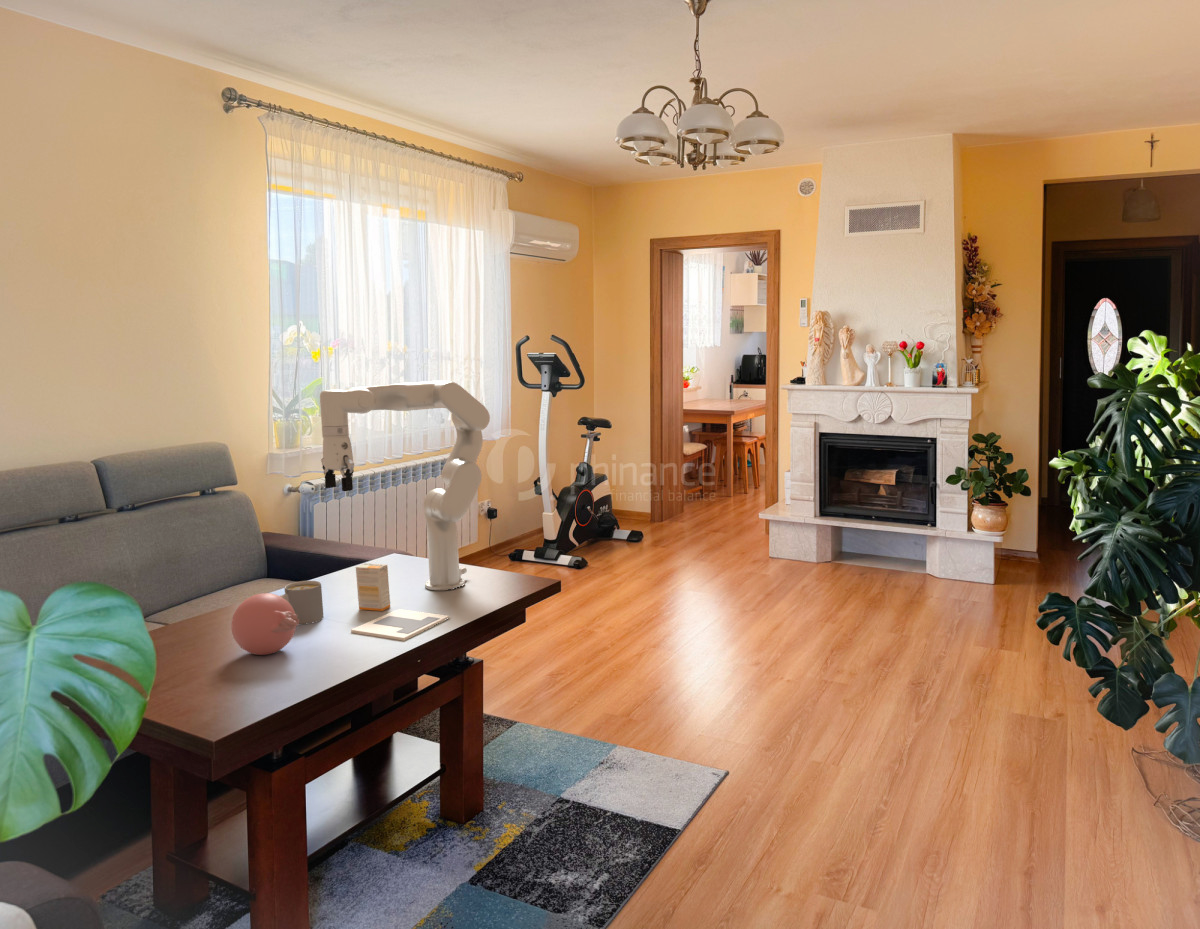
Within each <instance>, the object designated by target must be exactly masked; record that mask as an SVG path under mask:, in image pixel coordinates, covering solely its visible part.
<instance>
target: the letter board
mask: <svg viewBox="0 0 1200 929" xmlns="http://www.w3.org/2000/svg"><path fill="white" fill-rule="evenodd" d="M447 618H449V619H450V615H446V614H437V613H432V612H431V613H430V612H422V611H418V610H417V611H416V610H408V609H402V608H398V609H397V608H396V610H393V611H391V612H389V613H387V614H384V615H382V616H379V617H377V618H374V619H372V620H370V621H368V622H365V623H363V624H361V625H358V626H356V627H354V628H352V629H350V633H351V634H359V635H366V636H371V637H376V638H377V637H378V638H384V639H390V640H396V641H404V642H405V641H407V640H409V639H411V638H412V637H415V636H416V635H419V634H421V633H423V632H424V630H425V631H427V630H429V629H431V628H433V627H435V626H437V625H439V624H441V623H443V622H442V621H444V620H445V619H447ZM440 622H441V623H440ZM444 622H445V621H444ZM438 623H439V624H438ZM436 624H437V625H436ZM434 625H435V626H434ZM430 627H431V628H430ZM428 628H429V629H428Z"/></svg>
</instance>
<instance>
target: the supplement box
mask: <svg viewBox="0 0 1200 929" xmlns="http://www.w3.org/2000/svg"><path fill="white" fill-rule="evenodd" d="M388 568H389V566H388V564H385V563H384V564H379V563H362V564H360V565H358V566H357V565H356V567H355V573H356V574H355V575H356V587H357V588H356V589H357V599H358V600H357V601H358V610H359V609H360V611H361V609H362V610H364V611H375V612H383V611H386V610H387V609H389V608H391V597H390V595H391V594H390V584H389V583H390V582H389V570H388Z"/></svg>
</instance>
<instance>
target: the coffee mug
mask: <svg viewBox="0 0 1200 929" xmlns="http://www.w3.org/2000/svg"><path fill="white" fill-rule="evenodd" d="M279 596H280V597H282V598H284V599H285V600H286V601H288V602H289V603H290V605H291V606H292V608H293V609H294V612H295V614H296V615H297V619H299V624H302V625H307V624H306V623H310V624H313V623H312V622H314V623H316V621H317V622H319V620H320V621H321V619H322V618H323V619H324V605H323V589H322V582H320V581H317V580H301V581H295V582H291V583H288V584H286V585H285V586H284V594H281V595H279ZM323 619H322V620H323Z"/></svg>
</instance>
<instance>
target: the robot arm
mask: <svg viewBox="0 0 1200 929" xmlns="http://www.w3.org/2000/svg"><path fill="white" fill-rule="evenodd" d="M319 404H320V406H319V407H320V417H321V419H320V420H321V435H322V436H321V437H322V458H321V459H320V461H321V465H322V469H323V475H324V484H325V485H324V486H325V488H326V489H332V488H336V487H337V481H336V479H337V478H336V473H335V471H336V472H337V471H338V472H340V475H341V476H342V477H340V478H341V479H340V482H341V491H342V492H348V491H353V489H354V486H353V485H354V484H353V477H354V472H355V471H354V470H355V469H354V468H355V463H354V455H353V454H354V453H353V448H352V442H351V438H350V431H349V417H348V416H349V415H348V414H368V413H369V412H371V411H395V412H396V411H397V412H411V411H419V410H420V411H421V410H430V409H431V410H433V409H447V410H448V411H449V412H450V413H451V422H452V423H453V425H454V427H455V432H456V440H455V443H454V445H453V448H452V450H451V452H450V454H449V455H448V458H447V459H446V461H445V464H444V465H443V467H442V470H441V480H442V482H443V483H444V484H445V485H446V489H445V488H441V487H440V488H439V487H438V488H434V489H431V490H430V491H428V492H427V493H426V495H425V497H424V499H423V504H422V505H423V513H424V519H425V524H426V534H427V536H426V538H427V555H428V574H429V575H428V576H429V579H428V580H427V581H426V582H424V583H425V584H424V586H425V588H426V589H428V590H431V591H449V590H448V589H451V590H454V589H453V588H456V589H458V588H457V587H459V588H461V587H460V586H462V585H463V584H464V583H465V579H464V578H461V577H462V575H463V574H466V573H467V568H466V567H462V568H460V561H459V560H460V559H459V558H460V557H459V543H458V542H459V541H458V525H457V522H459V521H461V520H462V519H463V518H464V517H465V515H467V512H468V511H469V509H470V507H471V505H472V503H473V501H474V499H475V497H476V494H477V492H478V490H479V488H480V486H481V482H482V470H481V468H480V467H479V465H478V464H476V463H477V460H478V458H479V456H480V453H481V452H482V448H483V443H484V442H483V441H484V440H483V433H482V431H483V430H484V429H486V428H488V425H489V424H490V421H491V420H490V418H491V416H490V412H489V410H488V409H487V407H486V406H484V404H483V403H481V402H480V401H479V400H478V399H477V398H475V396H473V395H472V394H471V393H470V392H468V391H467V390H466V389H465V388H464V387H462V386H461V385H460V384H458V383H457V382H455V381H452V380H451V381H449V380H432V381H418V382H403V383H402V382H401V383H393V384H386V385H385V384H384V385H371V386H358V387H349V388H347V389H345V390H343V389H326V390H322V391H321V392H320V393H319ZM465 584H466V583H465ZM465 584H464V585H465ZM464 585H463V586H464ZM463 586H462V587H463Z"/></svg>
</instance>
